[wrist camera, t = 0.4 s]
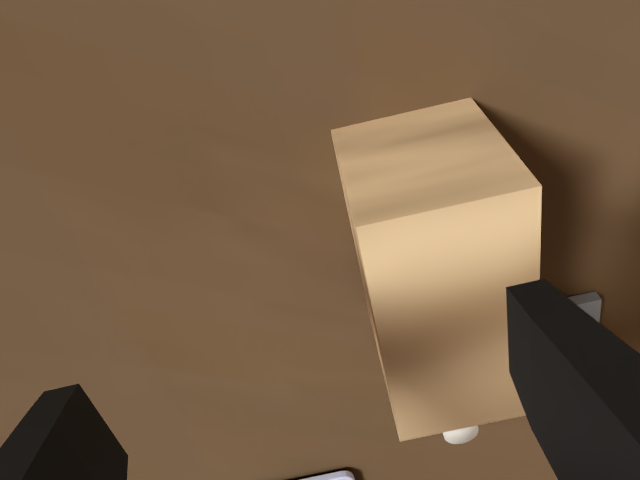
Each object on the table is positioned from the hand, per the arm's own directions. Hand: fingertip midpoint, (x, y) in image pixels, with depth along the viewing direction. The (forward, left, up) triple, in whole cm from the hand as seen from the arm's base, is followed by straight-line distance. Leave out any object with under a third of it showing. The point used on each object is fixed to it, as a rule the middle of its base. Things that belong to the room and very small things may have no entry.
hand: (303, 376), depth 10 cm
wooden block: (-5, -4, -10) cm, 12 cm away
